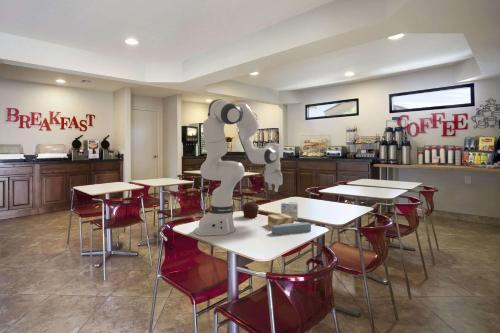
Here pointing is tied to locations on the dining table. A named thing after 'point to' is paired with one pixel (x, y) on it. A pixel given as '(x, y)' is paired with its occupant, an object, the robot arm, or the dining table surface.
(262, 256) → the dining table surface
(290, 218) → the oak block
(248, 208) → the muffin
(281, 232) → the blue-grey bar
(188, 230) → the dining table surface
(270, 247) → the dining table surface
